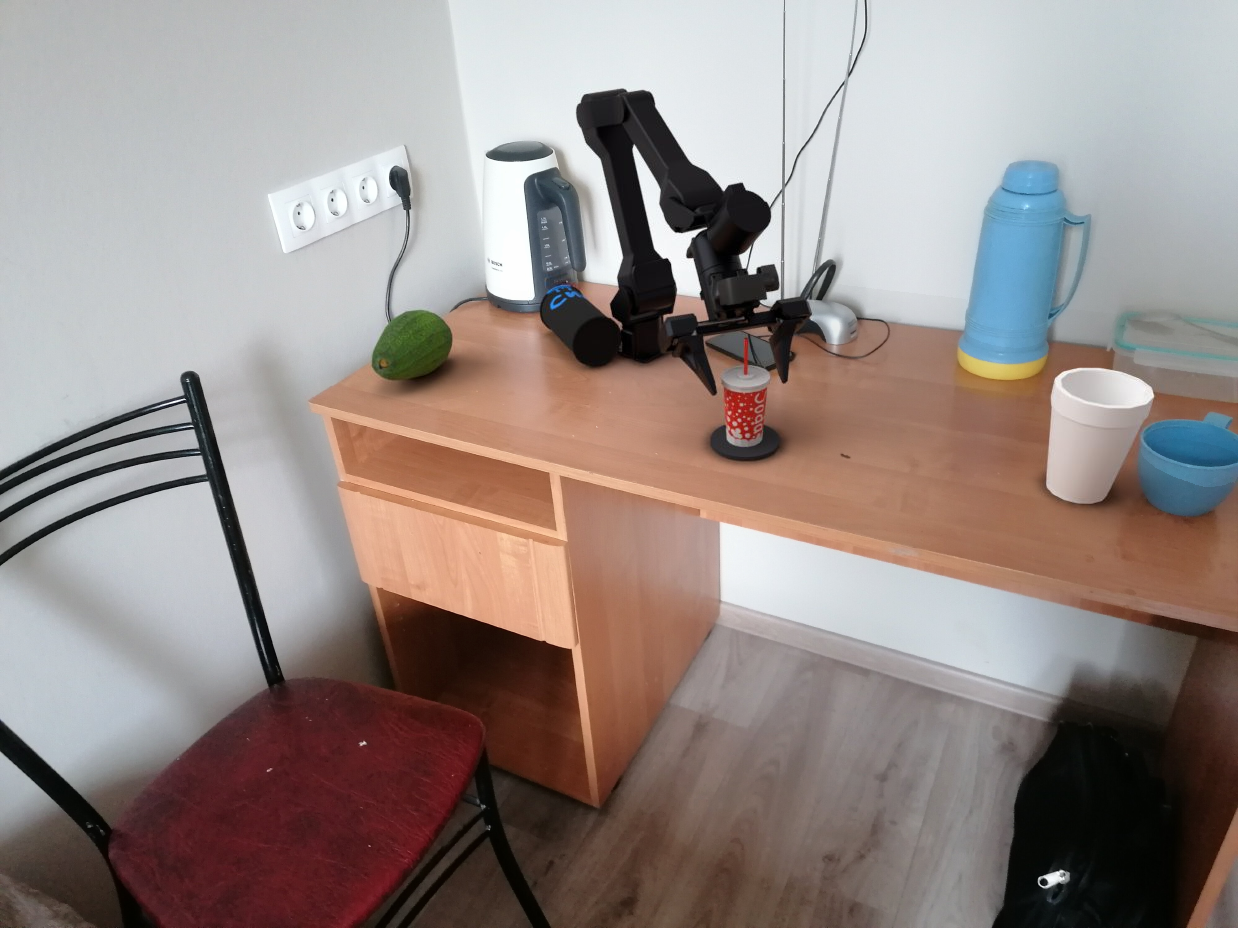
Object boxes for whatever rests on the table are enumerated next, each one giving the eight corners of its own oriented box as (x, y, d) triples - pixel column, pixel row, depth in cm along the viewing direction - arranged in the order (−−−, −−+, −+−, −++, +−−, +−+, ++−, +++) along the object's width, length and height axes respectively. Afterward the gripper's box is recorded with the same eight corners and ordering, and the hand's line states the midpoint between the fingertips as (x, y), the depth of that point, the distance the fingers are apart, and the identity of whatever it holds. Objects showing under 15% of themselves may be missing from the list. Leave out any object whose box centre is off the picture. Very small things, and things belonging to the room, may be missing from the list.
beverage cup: (737, 454, 107) (739, 353, 100) (711, 434, 112) (711, 335, 104) (777, 441, 109) (782, 341, 102) (750, 421, 114) (752, 324, 106)
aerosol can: (572, 370, 131) (532, 326, 147) (621, 363, 134) (576, 320, 150) (572, 319, 127) (530, 279, 143) (622, 313, 130) (576, 274, 145)
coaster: (740, 418, 116) (740, 414, 116) (794, 440, 110) (794, 436, 110) (695, 444, 111) (695, 440, 111) (750, 469, 105) (750, 464, 105)
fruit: (408, 402, 126) (394, 340, 121) (359, 390, 131) (343, 330, 125) (471, 361, 137) (461, 302, 132) (423, 351, 141) (412, 294, 136)
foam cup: (1016, 470, 101) (1038, 371, 94) (1092, 462, 102) (1119, 364, 95) (1058, 516, 93) (1085, 412, 86) (1140, 507, 94) (1173, 403, 87)
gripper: (660, 253, 99) (691, 379, 95) (810, 232, 102) (845, 353, 99) (645, 295, 109) (673, 408, 106) (781, 274, 113) (812, 384, 109)
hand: (750, 388), depth 105 cm, fingers open, 9 cm apart
